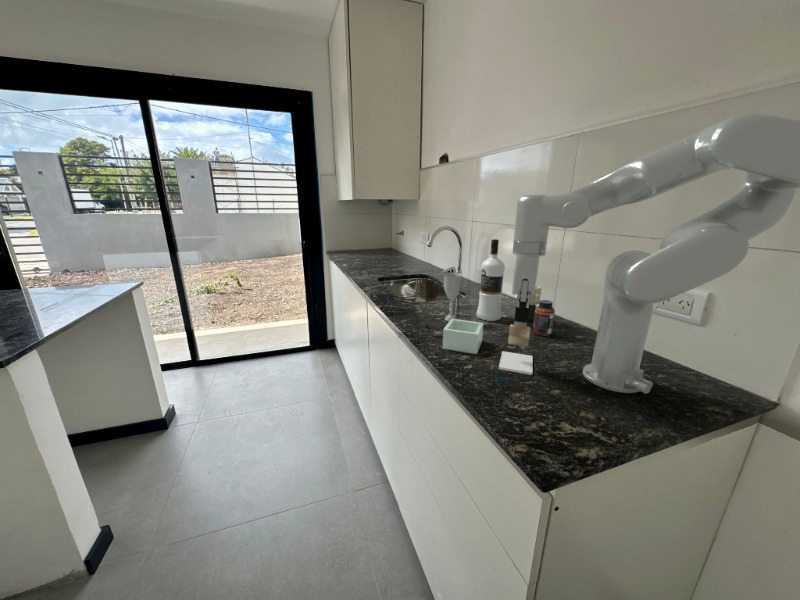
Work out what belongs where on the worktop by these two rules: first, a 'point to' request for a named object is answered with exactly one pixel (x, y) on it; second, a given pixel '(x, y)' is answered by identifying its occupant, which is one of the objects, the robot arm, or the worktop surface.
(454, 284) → the chalice
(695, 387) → the worktop surface
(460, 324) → the holder
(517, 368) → the tile
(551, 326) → the supplement bottle
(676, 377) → the worktop surface
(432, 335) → the worktop surface
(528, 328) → the wooden block with tab
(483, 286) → the vodka
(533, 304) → the character mug
